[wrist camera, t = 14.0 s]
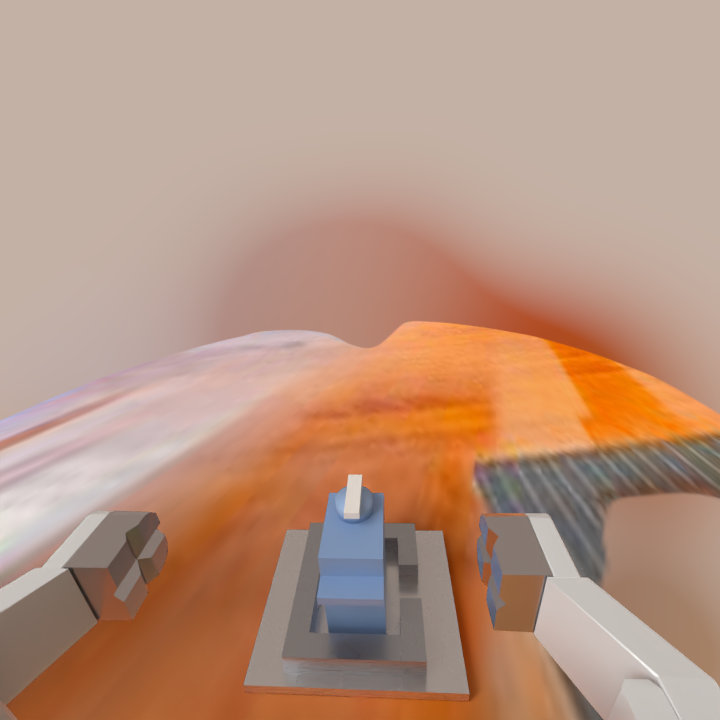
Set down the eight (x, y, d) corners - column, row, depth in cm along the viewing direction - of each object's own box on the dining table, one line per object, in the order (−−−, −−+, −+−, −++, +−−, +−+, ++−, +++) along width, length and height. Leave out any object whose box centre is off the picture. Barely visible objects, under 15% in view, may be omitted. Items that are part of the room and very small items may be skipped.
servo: (325, 656, 26) (311, 562, 22) (339, 547, 33) (330, 464, 29) (386, 658, 25) (381, 563, 21) (386, 548, 33) (382, 463, 29)
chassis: (245, 692, 25) (238, 669, 24) (288, 535, 35) (284, 515, 34) (468, 701, 24) (471, 677, 22) (442, 537, 34) (443, 516, 33)
